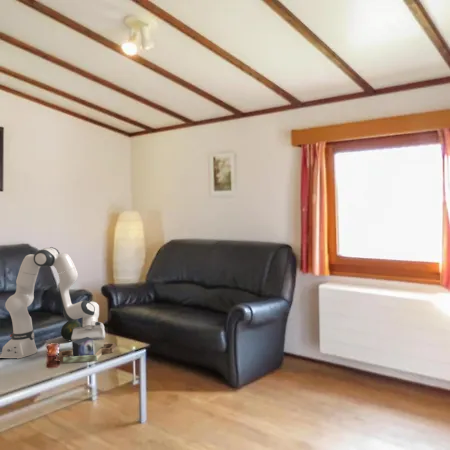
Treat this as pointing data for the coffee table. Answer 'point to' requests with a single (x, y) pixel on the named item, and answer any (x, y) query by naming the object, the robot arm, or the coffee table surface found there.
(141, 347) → the coffee table surface
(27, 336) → the robot arm
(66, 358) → the trap lane
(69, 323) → the squash
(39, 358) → the coffee table surface
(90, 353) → the small box
